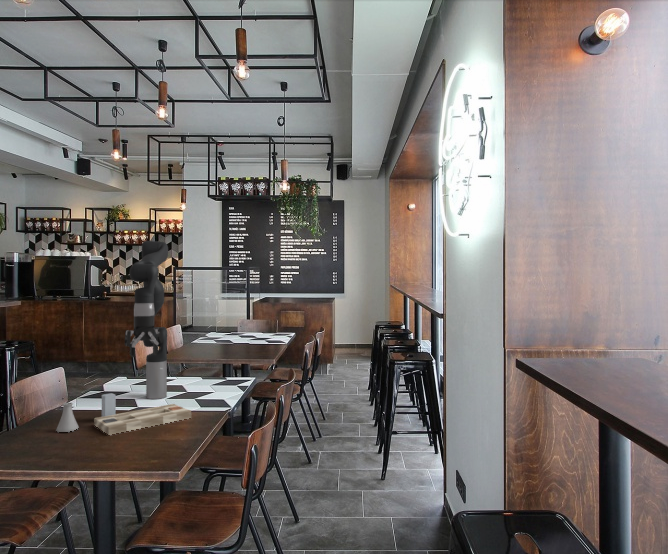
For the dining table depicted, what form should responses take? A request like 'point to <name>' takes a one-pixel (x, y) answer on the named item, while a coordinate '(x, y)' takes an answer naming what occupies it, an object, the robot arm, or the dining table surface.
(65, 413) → the flask
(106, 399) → the plug
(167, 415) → the socket block
